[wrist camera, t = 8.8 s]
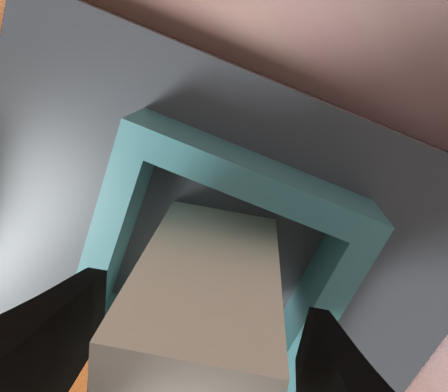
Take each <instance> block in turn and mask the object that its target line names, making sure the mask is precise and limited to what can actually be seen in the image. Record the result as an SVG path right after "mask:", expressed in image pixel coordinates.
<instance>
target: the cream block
mask: <svg viewBox="0 0 448 392" xmlns="http://www.w3.org/2000/svg"><path fill="white" fill-rule="evenodd" d="M289 382H290V379H289V367H288V356H287V344H286V332H285V321H284V309H283V297H282V286H281V274H280V262H279V251H278V239H277V227H276V219H271V218H265V217H260V216H254V215H249V214H243V213H238V212H232V211H227V210H221V209H215V208H210V207H204V206H199V205H193V204H188V203H182V202H177V201H173V203H172V205H171V206H170V208H169V210H168V211H167V213H166V215H165V216H164V218H163V220H162V221H161V223H160V225H159V226H158V228H157V230H156V231H155V233H154V235H153V236H152V238H151V240H150V242H149V243H148V245H147V247H146V248H145V250H144V252H143V253H142V255H141V257H140V258H139V260H138V262H137V263H136V265H135V267H134V268H133V270H132V272H131V273H130V275H129V277H128V278H127V280H126V282H125V284H124V285H123V287H122V289H121V290H120V292H119V294H118V295H117V297H116V299H115V300H114V302H113V304H112V305H111V307H110V309H109V310H108V312H107V314H106V315H105V317H104V319H103V320H102V322H101V324H100V326H99V327H98V329H97V331H96V332H95V334H94V336H93V337H92V339H91V341H90V342H89V363H88V384H87V392H287V389H288V385H289Z"/></svg>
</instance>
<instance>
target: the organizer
mask: <svg viewBox="0 0 448 392" xmlns="http://www.w3.org/2000/svg"><path fill="white" fill-rule="evenodd" d="M173 201H177V202H182V203H188V204H193V205H199V206H204V207H210V208H215V209H221V210H227V211H232V212H238V213H243V214H249V215H254V216H260V217H265V218H271V219H276V227H277V239H278V251H279V262H280V274H281V286H282V297H283V309H284V321H285V332H286V344H287V356H288V367H289V379H290V382H289V385H288V389H287V392H296V373H295V358H296V354H297V351H298V347H299V343H300V339H301V336H302V332H303V328H304V324H305V321H306V317H307V313H308V309H309V307H314V308H320V309H325V310H329V311H330V312H331V313H332V315H333V316H334V317H335V319H336V320H337V321H338V323H339V324H340V325H341V327H342V328H343V329H344V331H345V332H346V333H347V335H348V336H349V337H350V339H351V340H352V341H353V343H354V344H355V345H356V347H357V348H358V349H359V350H360V352H361V353H362V354H363V355H364V357H365V358H366V359H367V360H368V362H369V363H370V364H371V365H372V366H373V368H374V369H375V370H376V371H377V372H378V373H379V374H380V375H381V377H382V378H383V379H384V380H385V381H386V382H387V383H388V384H389V386H390V387H391V388H392V389H393V390H394V391H395V392H404V391H405V390H406V389H407V387H408V386H409V385H410V383H411V382H412V381H413V379H414V378H415V377H416V375H417V374H418V373H419V371H420V370H421V369H422V367H423V366H424V365H425V363H426V362H427V361H428V359H429V358H430V357H431V355H432V354H433V353H434V351H435V350H436V349H437V347H438V346H439V345H440V343H441V342H442V341H443V339H444V338H445V337H446V335H447V334H448V152H446V151H443V150H441V149H438V148H436V147H434V146H431V145H429V144H426V143H424V142H422V141H419V140H417V139H414V138H412V137H410V136H407V135H405V134H402V133H400V132H398V131H395V130H393V129H390V128H388V127H385V126H383V125H381V124H378V123H376V122H373V121H371V120H369V119H366V118H364V117H361V116H359V115H357V114H354V113H352V112H349V111H347V110H345V109H342V108H340V107H337V106H335V105H333V104H330V103H328V102H325V101H323V100H321V99H318V98H316V97H313V96H311V95H308V94H306V93H304V92H301V91H299V90H296V89H294V88H292V87H289V86H287V85H284V84H282V83H280V82H277V81H275V80H272V79H270V78H268V77H265V76H263V75H260V74H258V73H256V72H253V71H251V70H248V69H246V68H244V67H241V66H239V65H236V64H234V63H231V62H229V61H227V60H224V59H222V58H219V57H217V56H215V55H212V54H210V53H207V52H205V51H203V50H200V49H198V48H195V47H193V46H191V45H188V44H186V43H183V42H181V41H179V40H176V39H174V38H171V37H169V36H166V35H164V34H162V33H159V32H157V31H154V30H152V29H150V28H147V27H145V26H142V25H140V24H138V23H135V22H133V21H130V20H128V19H126V18H123V17H121V16H118V15H116V14H114V13H111V12H109V11H106V10H104V9H102V8H99V7H97V6H94V5H92V4H89V3H87V2H85V1H82V0H6V3H5V9H4V16H3V22H2V28H1V34H0V314H1V313H4V312H6V311H8V310H10V309H12V308H14V307H16V306H18V305H20V304H22V303H24V302H26V301H28V300H30V299H32V298H34V297H36V296H38V295H39V294H41V293H43V292H45V291H47V290H48V289H50V288H52V287H54V286H56V285H57V284H59V283H61V282H63V281H64V280H66V279H68V278H70V277H71V276H73V275H75V274H77V273H78V272H80V271H82V270H84V269H86V268H88V267H90V268H96V269H101V270H107V284H106V304H105V315H106V314H107V312H108V310H109V309H110V307H111V305H112V304H113V302H114V300H115V299H116V297H117V295H118V294H119V292H120V290H121V289H122V287H123V285H124V284H125V282H126V280H127V278H128V277H129V275H130V273H131V272H132V270H133V268H134V267H135V265H136V263H137V262H138V260H139V258H140V257H141V255H142V253H143V252H144V250H145V248H146V247H147V245H148V243H149V242H150V240H151V238H152V236H153V235H154V233H155V231H156V230H157V228H158V226H159V225H160V223H161V221H162V220H163V218H164V216H165V215H166V213H167V211H168V210H169V208H170V206H171V205H172V203H173Z"/></svg>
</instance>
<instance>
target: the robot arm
mask: <svg viewBox="0 0 448 392" xmlns="http://www.w3.org/2000/svg"><path fill="white" fill-rule="evenodd" d="M106 284H107V270H101V269H96V268H90V267H88V268H86V269H84V270H82V271H80V272H78V273H77V274H75V275H73V276H71V277H70V278H68V279H66V280H64V281H63V282H61V283H59V284H57V285H56V286H54V287H52V288H50V289H48V290H47V291H45V292H43V293H41V294H39V295H38V296H36V297H34V298H32V299H30V300H28V301H26V302H24V303H22V304H20V305H18V306H16V307H14V308H12V309H10V310H8V311H6V312H4V313H1V314H0V392H68V391H69V390H70V388H71V387H72V385H73V383H74V382H75V380H76V378H77V377H78V375H79V373H80V372H81V370H82V368H83V367H84V365H85V363H86V362H87V360H88V358H89V342H90V341H91V339H92V337H93V336H94V334H95V332H96V331H97V329H98V327H99V326H100V324H101V322H102V320H103V319H104V317H105V304H106ZM295 373H296V392H395V391H394V390H393V389H392V388H391V387H390V386H389V384H388V383H387V382H386V381H385V380H384V379H383V378H382V377H381V375H380V374H379V373H378V372H377V371H376V370H375V369H374V368H373V366H372V365H371V364H370V363H369V362H368V360H367V359H366V358H365V357H364V355H363V354H362V353H361V352H360V350H359V349H358V348H357V347H356V345H355V344H354V343H353V341H352V340H351V339H350V337H349V336H348V335H347V333H346V332H345V331H344V329H343V328H342V327H341V325H340V324H339V323H338V321H337V320H336V319H335V317H334V316H333V315H332V313H331V312H330V311H329V310H325V309H320V308H314V307H309V309H308V313H307V317H306V321H305V324H304V328H303V332H302V336H301V339H300V343H299V347H298V351H297V354H296V358H295Z"/></svg>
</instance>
